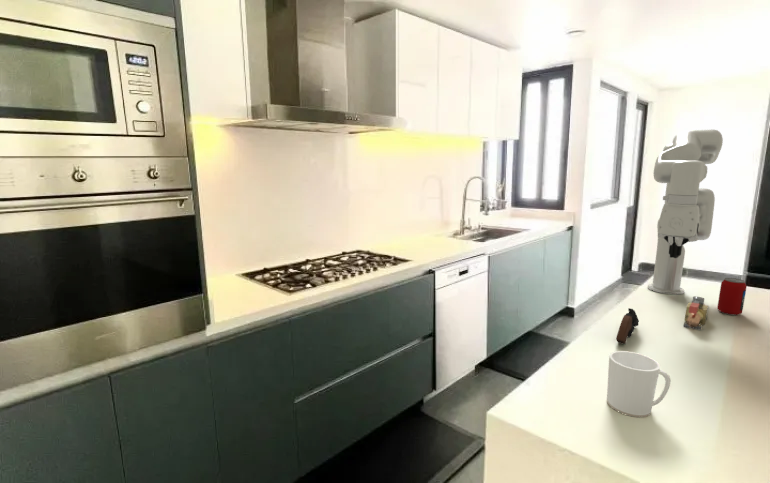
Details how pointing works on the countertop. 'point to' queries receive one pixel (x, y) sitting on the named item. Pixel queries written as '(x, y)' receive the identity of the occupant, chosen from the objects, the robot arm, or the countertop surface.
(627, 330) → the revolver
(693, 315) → the pipework
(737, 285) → the beverage can
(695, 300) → the lever
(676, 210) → the robot arm
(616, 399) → the mug
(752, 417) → the countertop surface
